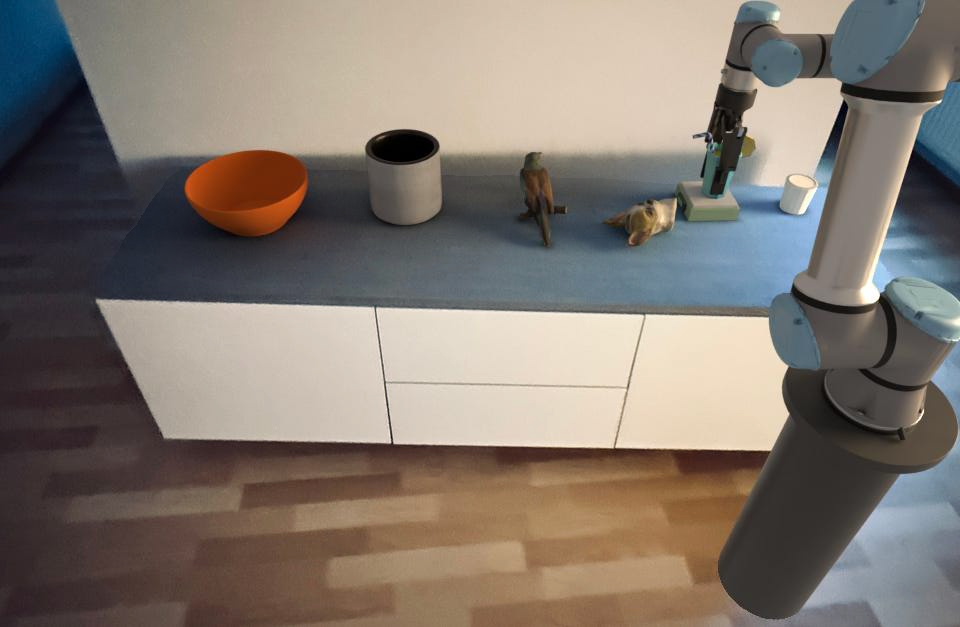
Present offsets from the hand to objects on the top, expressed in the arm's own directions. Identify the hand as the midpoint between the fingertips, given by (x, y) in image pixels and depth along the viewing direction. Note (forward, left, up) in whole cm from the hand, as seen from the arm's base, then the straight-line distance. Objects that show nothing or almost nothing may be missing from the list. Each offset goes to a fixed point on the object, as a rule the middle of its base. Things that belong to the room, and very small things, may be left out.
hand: (711, 185), depth 150 cm
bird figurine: (-4, +38, -6) cm, 39 cm away
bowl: (-1, +101, -6) cm, 101 cm away
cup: (0, 0, -2) cm, 2 cm away
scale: (0, 0, -6) cm, 6 cm away
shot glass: (-1, -20, -6) cm, 21 cm away
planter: (+2, +68, -6) cm, 68 cm away
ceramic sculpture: (-10, +17, -6) cm, 21 cm away
